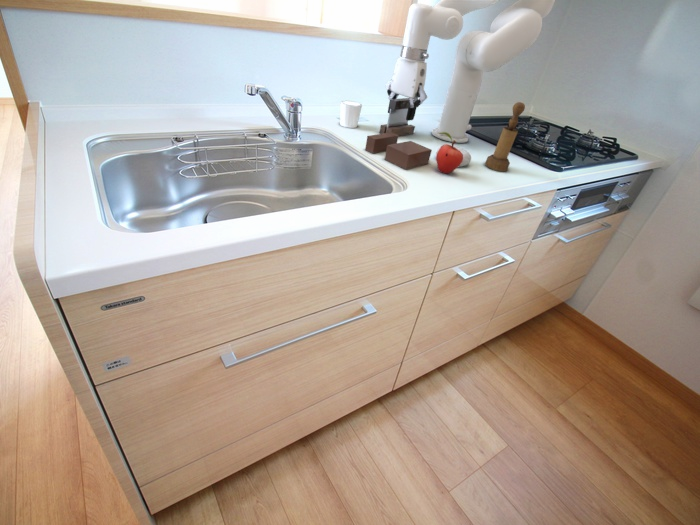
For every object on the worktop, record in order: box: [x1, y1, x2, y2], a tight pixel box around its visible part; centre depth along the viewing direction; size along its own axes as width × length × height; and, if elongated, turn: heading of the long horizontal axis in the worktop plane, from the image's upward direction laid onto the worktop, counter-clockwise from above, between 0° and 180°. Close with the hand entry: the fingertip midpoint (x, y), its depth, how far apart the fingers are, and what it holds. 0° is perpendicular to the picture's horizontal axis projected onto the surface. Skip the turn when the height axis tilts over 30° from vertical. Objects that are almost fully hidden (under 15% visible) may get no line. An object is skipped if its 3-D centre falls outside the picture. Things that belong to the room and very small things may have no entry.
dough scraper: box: [386, 97, 410, 133], centre depth 119 cm, size 10×2×11 cm, turn 133°
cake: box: [384, 140, 433, 171], centre depth 100 cm, size 10×8×4 cm
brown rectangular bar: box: [364, 132, 399, 154], centre depth 105 cm, size 10×3×4 cm, turn 133°
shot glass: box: [339, 100, 363, 129], centre depth 120 cm, size 7×7×7 cm
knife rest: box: [378, 122, 416, 137], centre depth 122 cm, size 12×5×2 cm, turn 133°
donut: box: [435, 145, 472, 167], centre depth 105 cm, size 10×4×10 cm
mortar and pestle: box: [484, 101, 526, 172], centre depth 102 cm, size 7×6×18 cm
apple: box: [435, 132, 463, 174], centre depth 96 cm, size 8×7×10 cm
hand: (400, 115), depth 119 cm, fingers open, 7 cm apart
